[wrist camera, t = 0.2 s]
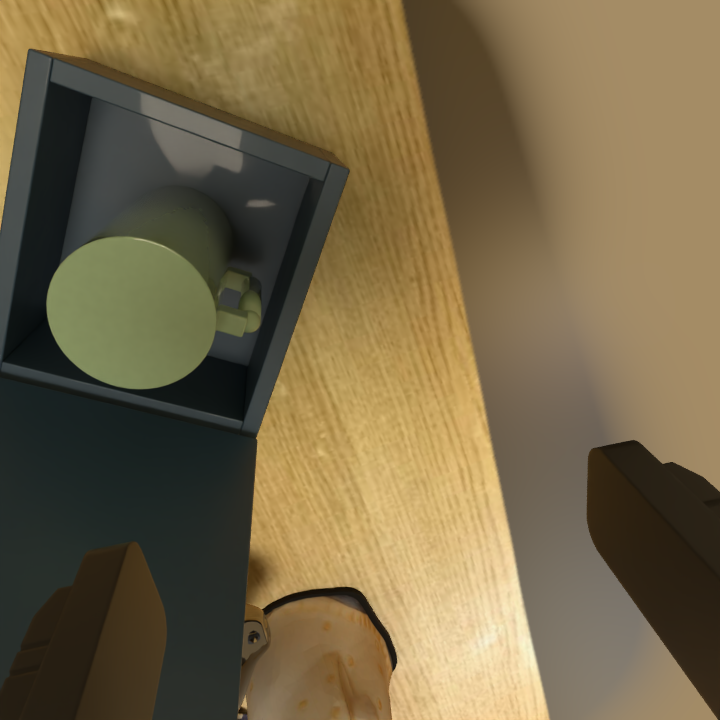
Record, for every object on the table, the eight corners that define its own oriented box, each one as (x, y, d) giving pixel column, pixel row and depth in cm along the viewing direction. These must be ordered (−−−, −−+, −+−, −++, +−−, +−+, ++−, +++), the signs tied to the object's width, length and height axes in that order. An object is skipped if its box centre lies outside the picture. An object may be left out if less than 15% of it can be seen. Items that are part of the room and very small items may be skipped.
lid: (-329, 699, 12) (-325, 722, 12) (235, 755, 15) (227, 772, 15) (-27, 370, 24) (-29, 386, 24) (258, 438, 27) (252, 452, 27)
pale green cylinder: (136, 168, 28) (61, 212, 18) (278, 217, 29) (282, 282, 19) (113, 273, 29) (33, 366, 19) (247, 313, 31) (237, 417, 21)
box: (84, 57, 26) (27, 47, 20) (333, 153, 29) (350, 169, 23) (36, 316, 30) (-23, 373, 24) (258, 376, 33) (255, 440, 27)
